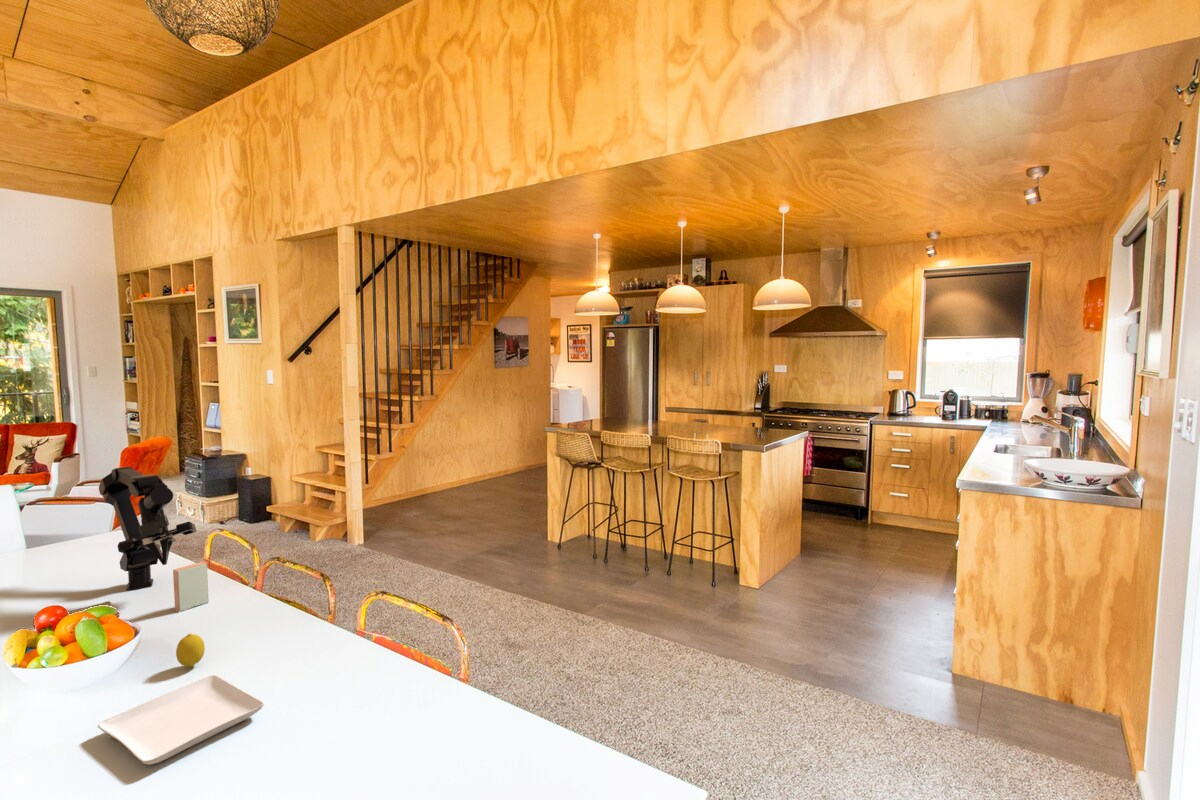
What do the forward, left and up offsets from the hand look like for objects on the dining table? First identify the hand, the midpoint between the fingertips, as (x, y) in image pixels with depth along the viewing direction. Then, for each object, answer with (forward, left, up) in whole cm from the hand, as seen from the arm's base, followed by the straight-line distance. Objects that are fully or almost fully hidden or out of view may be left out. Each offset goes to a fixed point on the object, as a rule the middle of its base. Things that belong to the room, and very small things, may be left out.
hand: (164, 564), depth 181 cm
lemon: (+52, +6, -11) cm, 54 cm away
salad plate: (+79, +5, -11) cm, 80 cm away
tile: (+10, +6, -11) cm, 16 cm away
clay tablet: (+1, -18, -12) cm, 21 cm away
